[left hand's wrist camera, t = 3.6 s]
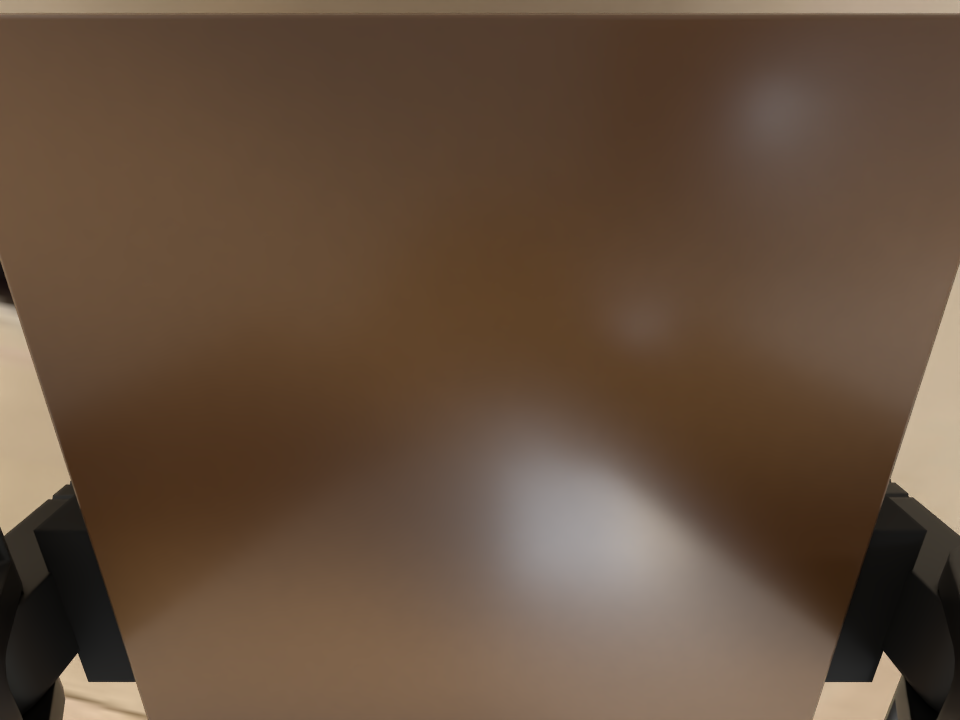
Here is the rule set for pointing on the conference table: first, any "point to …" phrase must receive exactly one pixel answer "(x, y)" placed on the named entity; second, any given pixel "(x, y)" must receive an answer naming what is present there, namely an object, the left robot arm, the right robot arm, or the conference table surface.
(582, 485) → the thick board
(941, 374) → the conference table surface
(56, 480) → the conference table surface
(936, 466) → the conference table surface
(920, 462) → the conference table surface
